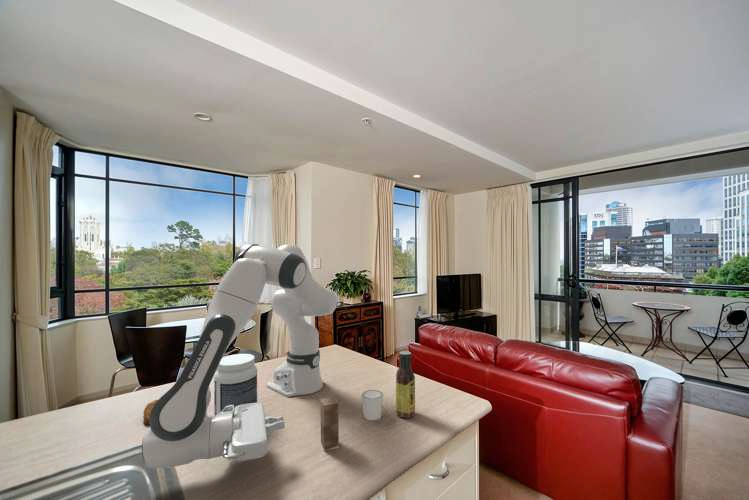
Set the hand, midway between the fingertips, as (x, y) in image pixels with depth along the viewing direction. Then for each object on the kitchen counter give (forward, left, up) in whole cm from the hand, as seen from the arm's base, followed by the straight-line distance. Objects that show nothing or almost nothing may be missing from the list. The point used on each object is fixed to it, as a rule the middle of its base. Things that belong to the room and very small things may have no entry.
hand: (283, 422), depth 80 cm
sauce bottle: (+20, +34, -9) cm, 41 cm away
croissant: (-52, -5, -9) cm, 53 cm away
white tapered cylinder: (+11, +28, -9) cm, 32 cm away
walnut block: (+8, +9, -9) cm, 15 cm away
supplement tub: (-28, +7, -9) cm, 31 cm away
